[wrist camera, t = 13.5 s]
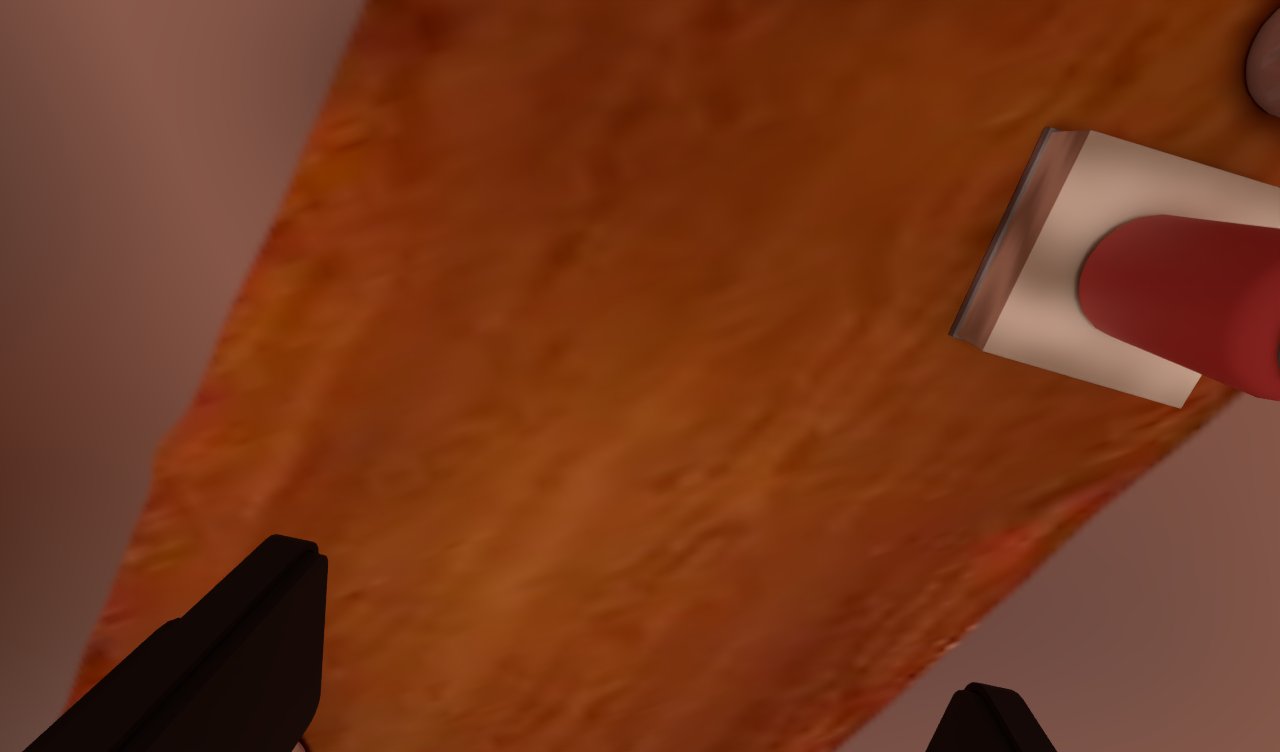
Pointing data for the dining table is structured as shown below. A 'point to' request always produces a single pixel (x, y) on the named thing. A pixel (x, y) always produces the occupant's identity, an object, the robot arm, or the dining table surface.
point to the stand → (1065, 238)
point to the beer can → (1192, 296)
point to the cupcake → (1265, 66)
